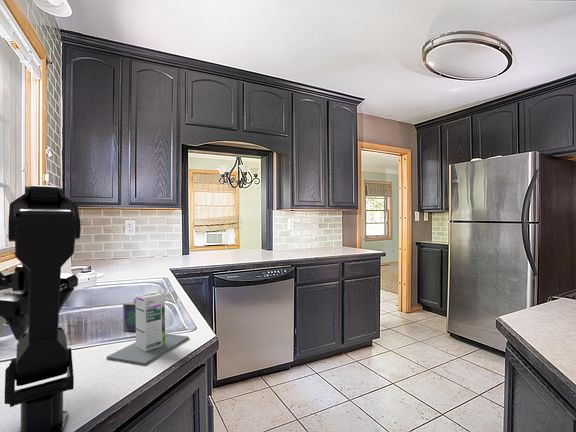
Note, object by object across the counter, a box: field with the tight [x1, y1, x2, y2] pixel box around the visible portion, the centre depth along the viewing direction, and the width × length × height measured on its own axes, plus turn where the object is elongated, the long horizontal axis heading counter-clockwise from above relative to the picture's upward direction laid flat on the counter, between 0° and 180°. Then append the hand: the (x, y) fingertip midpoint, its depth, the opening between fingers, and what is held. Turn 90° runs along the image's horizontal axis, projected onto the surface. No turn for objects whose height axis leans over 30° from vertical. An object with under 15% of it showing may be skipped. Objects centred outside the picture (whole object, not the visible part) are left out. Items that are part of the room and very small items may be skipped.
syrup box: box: [135, 291, 166, 352], centre depth 87 cm, size 6×6×14 cm
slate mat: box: [106, 333, 190, 366], centre depth 87 cm, size 18×12×1 cm, turn 163°
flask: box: [122, 298, 136, 334], centre depth 100 cm, size 9×3×11 cm, turn 76°
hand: (36, 329), depth 69 cm, fingers open, 9 cm apart
